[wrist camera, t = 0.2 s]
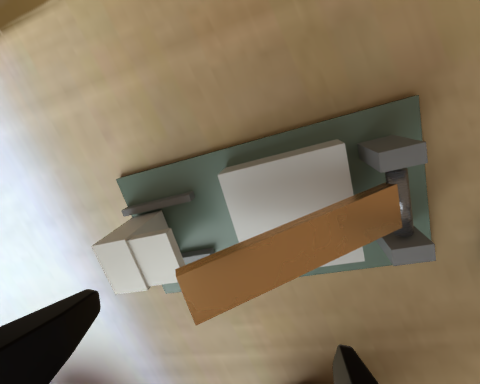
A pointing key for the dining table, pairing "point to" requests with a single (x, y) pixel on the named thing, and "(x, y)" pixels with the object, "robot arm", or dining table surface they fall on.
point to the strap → (296, 248)
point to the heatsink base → (366, 171)
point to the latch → (139, 254)
